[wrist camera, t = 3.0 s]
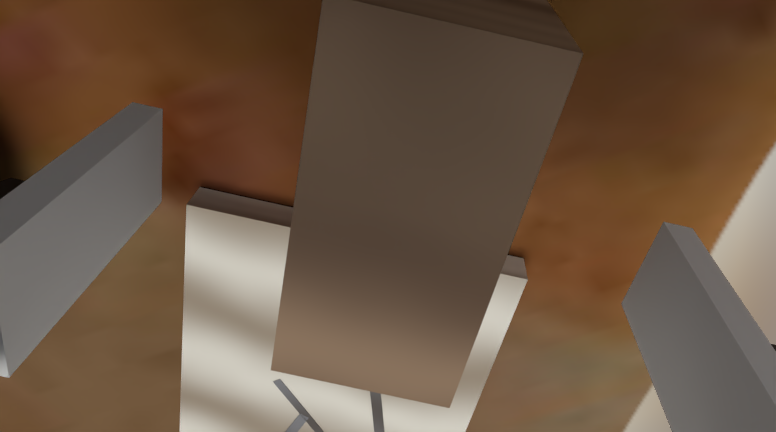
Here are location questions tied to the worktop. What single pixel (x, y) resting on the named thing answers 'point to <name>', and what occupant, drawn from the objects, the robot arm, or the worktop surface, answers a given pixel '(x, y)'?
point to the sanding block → (414, 184)
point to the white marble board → (258, 329)
